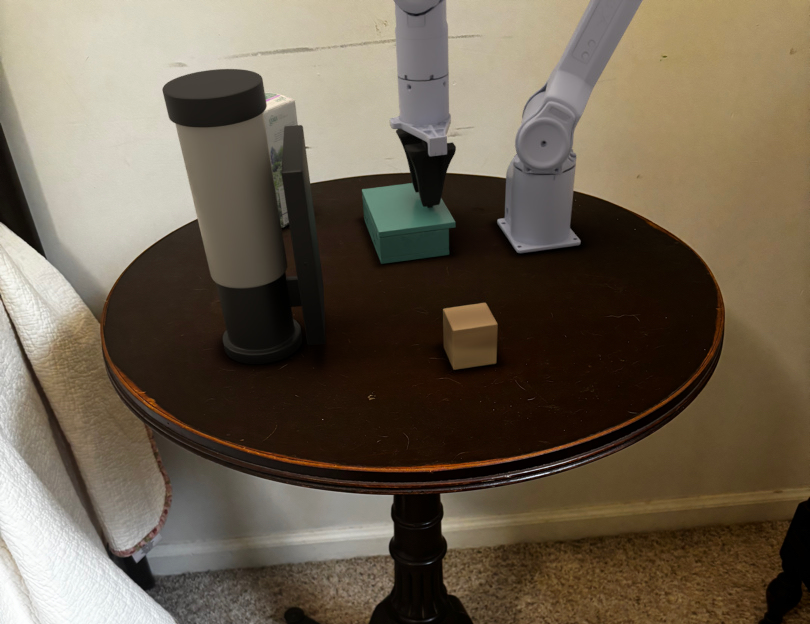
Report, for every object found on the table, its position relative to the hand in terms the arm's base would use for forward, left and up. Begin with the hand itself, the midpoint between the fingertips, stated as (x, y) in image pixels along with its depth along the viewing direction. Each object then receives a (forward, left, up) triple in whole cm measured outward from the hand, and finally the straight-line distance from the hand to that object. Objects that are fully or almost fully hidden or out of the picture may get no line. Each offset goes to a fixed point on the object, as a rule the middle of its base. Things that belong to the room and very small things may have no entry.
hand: (426, 197), depth 98 cm
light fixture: (+21, -21, -5) cm, 30 cm away
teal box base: (0, -3, -4) cm, 5 cm away
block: (+29, -2, -4) cm, 30 cm away
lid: (0, -3, -1) cm, 3 cm away
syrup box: (-11, -18, -5) cm, 21 cm away
